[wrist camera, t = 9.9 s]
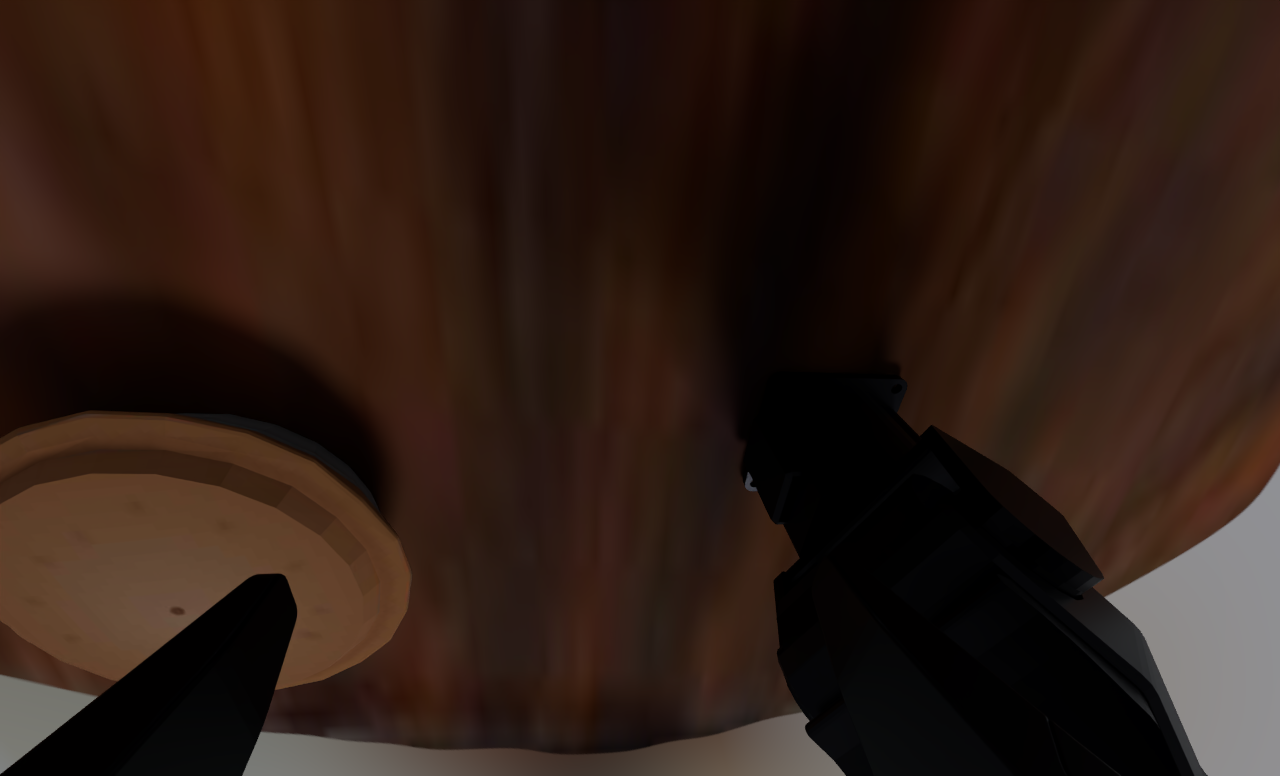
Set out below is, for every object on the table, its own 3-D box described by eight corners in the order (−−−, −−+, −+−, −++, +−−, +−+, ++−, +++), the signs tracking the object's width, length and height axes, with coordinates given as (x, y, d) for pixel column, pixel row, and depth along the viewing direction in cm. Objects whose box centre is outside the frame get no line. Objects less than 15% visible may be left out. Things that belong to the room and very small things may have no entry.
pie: (344, 654, 29) (306, 753, 25) (-10, 553, 23) (-142, 663, 18) (492, 477, 24) (476, 563, 20) (90, 283, 18) (-61, 349, 13)
